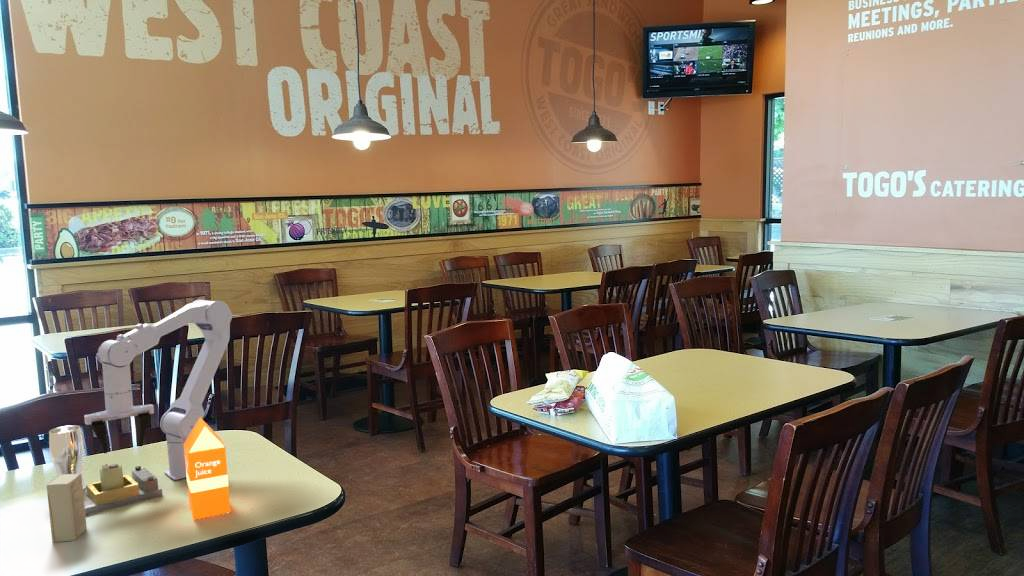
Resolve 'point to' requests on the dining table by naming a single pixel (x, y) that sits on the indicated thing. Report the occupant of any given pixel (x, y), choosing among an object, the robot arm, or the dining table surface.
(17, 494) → the dining table surface
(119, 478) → the spout can
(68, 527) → the skincare box
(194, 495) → the orange juice
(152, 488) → the grey metal fixture plate
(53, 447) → the beer glass
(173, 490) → the dining table surface
